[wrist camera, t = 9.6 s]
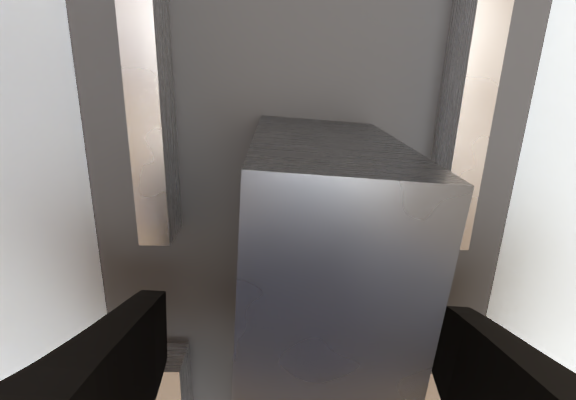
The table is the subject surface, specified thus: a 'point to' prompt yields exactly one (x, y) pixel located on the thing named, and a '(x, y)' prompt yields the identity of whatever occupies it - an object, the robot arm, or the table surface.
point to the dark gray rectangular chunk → (341, 263)
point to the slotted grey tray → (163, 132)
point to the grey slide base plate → (282, 103)
